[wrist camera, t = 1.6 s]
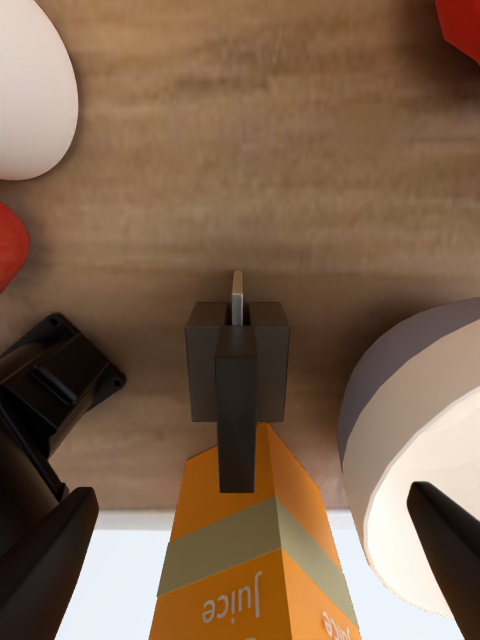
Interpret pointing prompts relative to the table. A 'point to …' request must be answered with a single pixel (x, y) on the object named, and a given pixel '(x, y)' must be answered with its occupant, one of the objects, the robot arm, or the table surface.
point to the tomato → (461, 25)
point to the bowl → (412, 439)
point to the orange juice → (252, 557)
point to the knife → (236, 399)
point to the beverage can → (33, 92)
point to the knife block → (271, 357)
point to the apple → (11, 245)
